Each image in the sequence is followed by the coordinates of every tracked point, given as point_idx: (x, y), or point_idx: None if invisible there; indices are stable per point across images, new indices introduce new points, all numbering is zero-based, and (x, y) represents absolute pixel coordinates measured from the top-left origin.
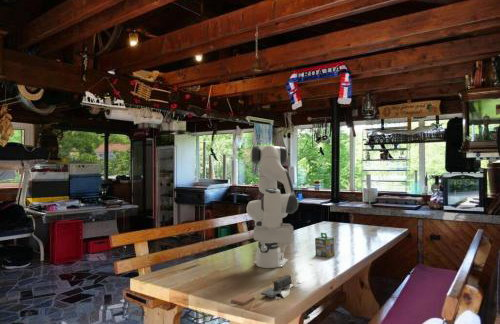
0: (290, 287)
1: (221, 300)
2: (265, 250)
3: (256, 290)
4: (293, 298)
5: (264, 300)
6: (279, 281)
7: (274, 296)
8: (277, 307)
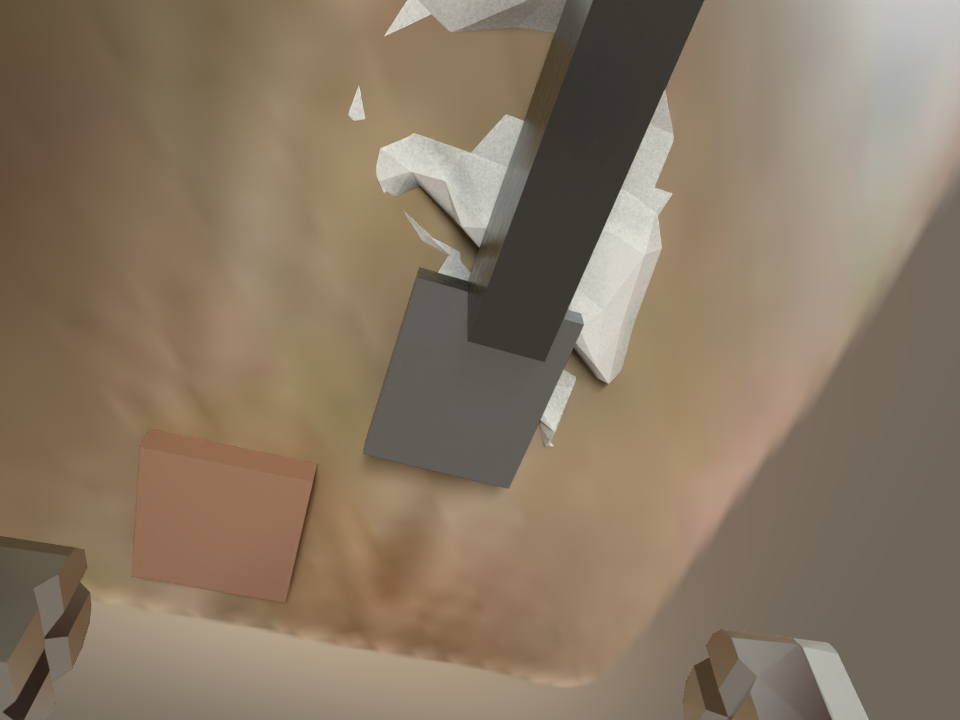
0: None
1: None
2: (85, 626)
3: (214, 229)
4: (725, 355)
5: None
6: (555, 318)
7: None
8: (587, 562)
